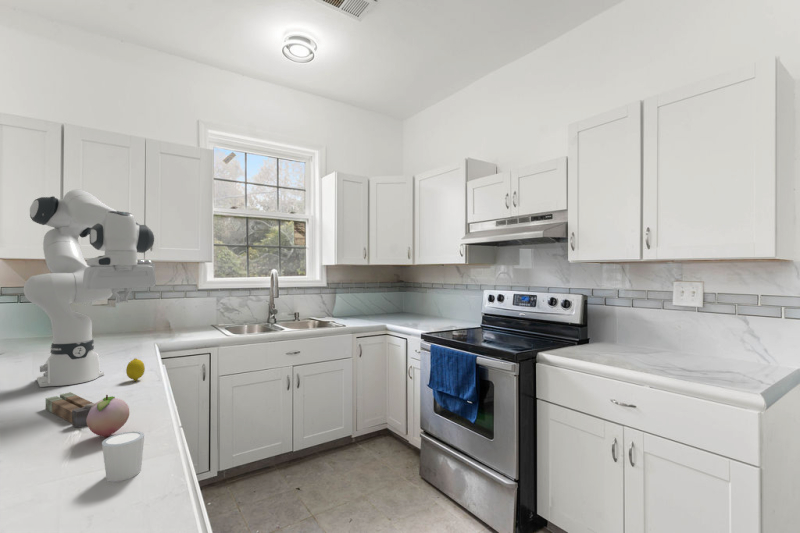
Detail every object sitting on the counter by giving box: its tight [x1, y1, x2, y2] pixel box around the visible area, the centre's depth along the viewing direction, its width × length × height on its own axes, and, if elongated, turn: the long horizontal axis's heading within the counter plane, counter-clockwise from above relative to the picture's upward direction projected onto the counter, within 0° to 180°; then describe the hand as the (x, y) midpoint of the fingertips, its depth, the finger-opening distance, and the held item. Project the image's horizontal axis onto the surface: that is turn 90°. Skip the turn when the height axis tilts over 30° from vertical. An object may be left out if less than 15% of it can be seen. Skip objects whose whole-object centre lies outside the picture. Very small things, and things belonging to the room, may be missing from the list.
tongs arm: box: [59, 391, 95, 408], centre depth 114 cm, size 20×2×3 cm, turn 55°
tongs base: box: [45, 395, 95, 429], centre depth 111 cm, size 25×6×5 cm, turn 56°
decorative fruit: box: [86, 394, 130, 438], centre depth 96 cm, size 9×8×10 cm
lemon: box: [125, 358, 146, 382], centre depth 145 cm, size 6×6×8 cm
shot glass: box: [101, 431, 145, 483], centre depth 78 cm, size 7×7×7 cm
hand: (121, 302), depth 132 cm, fingers closed
